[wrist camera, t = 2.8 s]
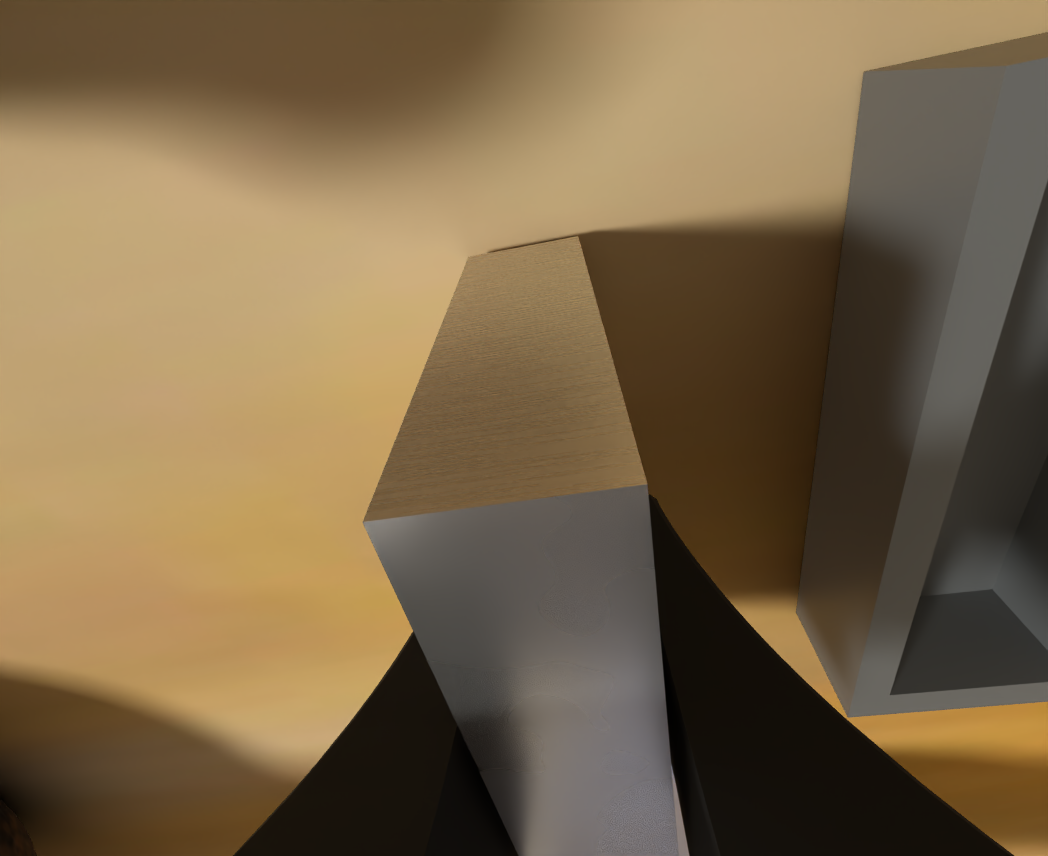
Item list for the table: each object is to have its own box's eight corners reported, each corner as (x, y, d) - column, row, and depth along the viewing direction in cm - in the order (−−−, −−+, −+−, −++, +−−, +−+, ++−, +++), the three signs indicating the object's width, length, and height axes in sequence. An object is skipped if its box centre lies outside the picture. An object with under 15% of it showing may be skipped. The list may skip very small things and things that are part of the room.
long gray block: (626, 606, 15) (686, 955, 9) (554, 614, 15) (566, 958, 9) (577, 236, 9) (647, 483, 4) (468, 256, 10) (363, 521, 4)
